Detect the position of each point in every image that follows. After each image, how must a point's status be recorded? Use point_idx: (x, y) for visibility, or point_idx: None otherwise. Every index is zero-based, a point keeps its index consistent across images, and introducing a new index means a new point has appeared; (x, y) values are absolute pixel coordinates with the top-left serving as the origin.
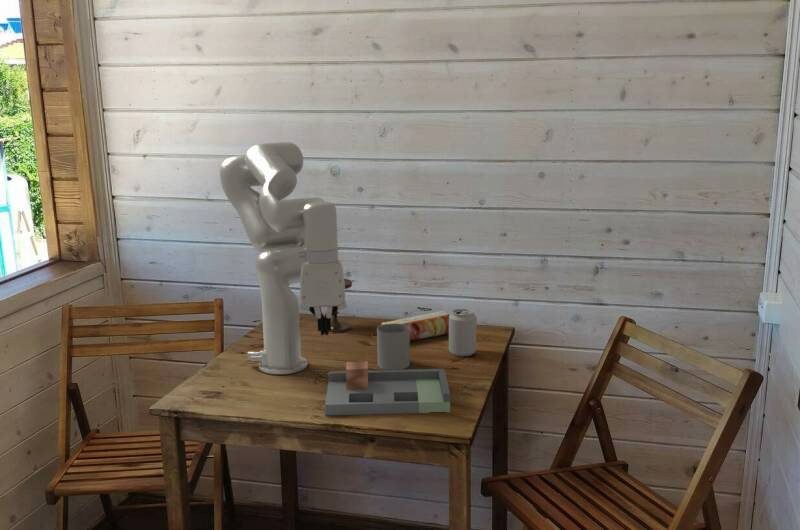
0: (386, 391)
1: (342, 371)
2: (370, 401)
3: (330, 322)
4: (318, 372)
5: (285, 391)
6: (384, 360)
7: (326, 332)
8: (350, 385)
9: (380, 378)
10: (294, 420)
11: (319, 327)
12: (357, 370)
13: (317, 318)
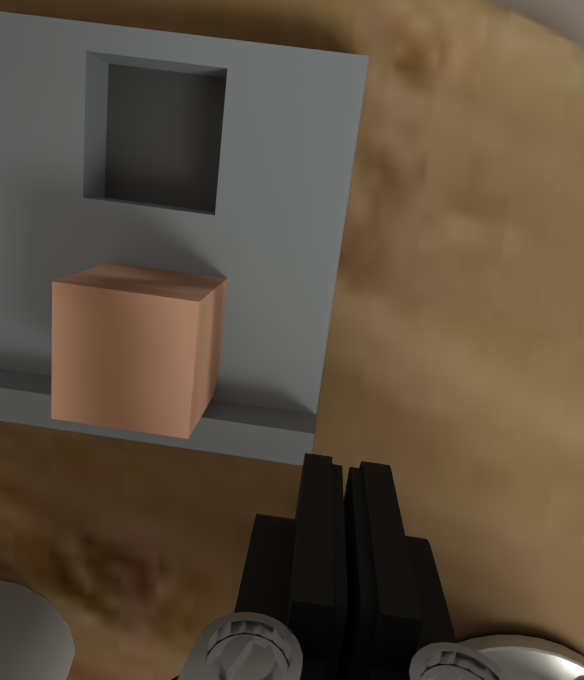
0: (10, 204)
1: (231, 448)
2: (118, 198)
3: (241, 584)
4: None
5: (532, 436)
6: (22, 631)
7: (318, 467)
8: (200, 279)
9: (36, 377)
10: (540, 26)
11: (410, 556)
12: (124, 289)
13: (474, 651)
